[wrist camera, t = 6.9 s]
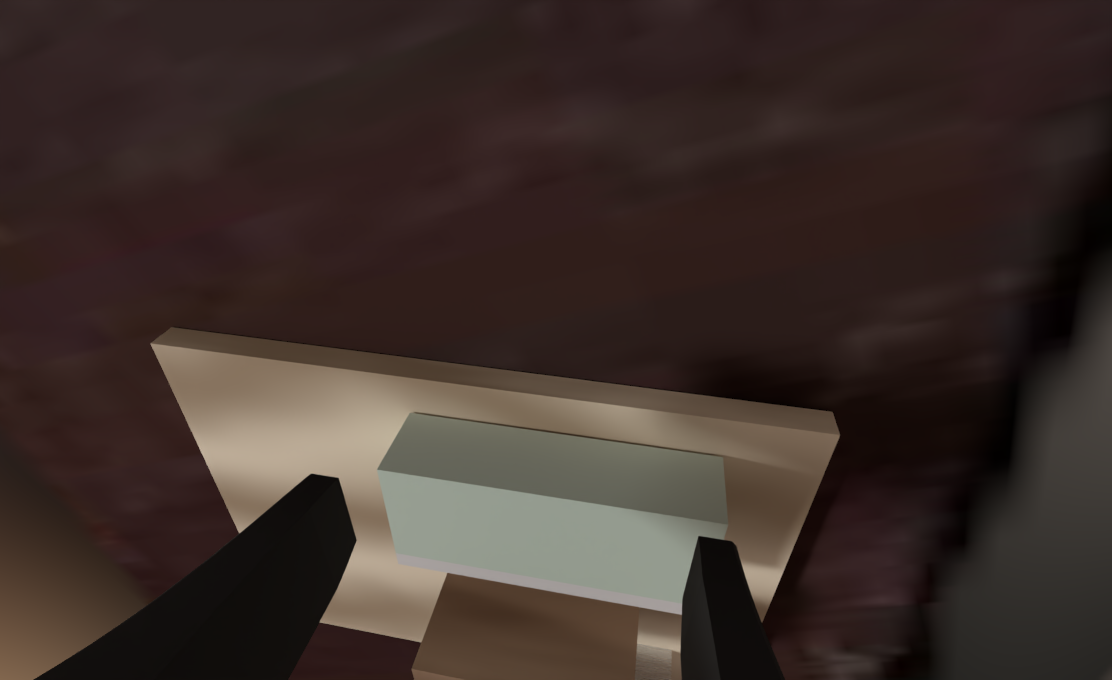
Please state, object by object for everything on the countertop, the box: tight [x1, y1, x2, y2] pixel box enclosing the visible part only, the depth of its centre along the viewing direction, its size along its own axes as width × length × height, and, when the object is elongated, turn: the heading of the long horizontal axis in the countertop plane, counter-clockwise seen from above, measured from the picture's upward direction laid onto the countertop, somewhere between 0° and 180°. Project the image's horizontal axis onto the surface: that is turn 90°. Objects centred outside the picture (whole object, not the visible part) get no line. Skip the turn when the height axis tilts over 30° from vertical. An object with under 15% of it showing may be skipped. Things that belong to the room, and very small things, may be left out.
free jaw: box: [377, 413, 728, 615], centre depth 18 cm, size 5×10×2 cm, turn 89°
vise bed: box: [151, 327, 840, 680], centre depth 23 cm, size 16×22×1 cm
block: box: [412, 573, 639, 680], centre depth 21 cm, size 4×7×5 cm, turn 89°
